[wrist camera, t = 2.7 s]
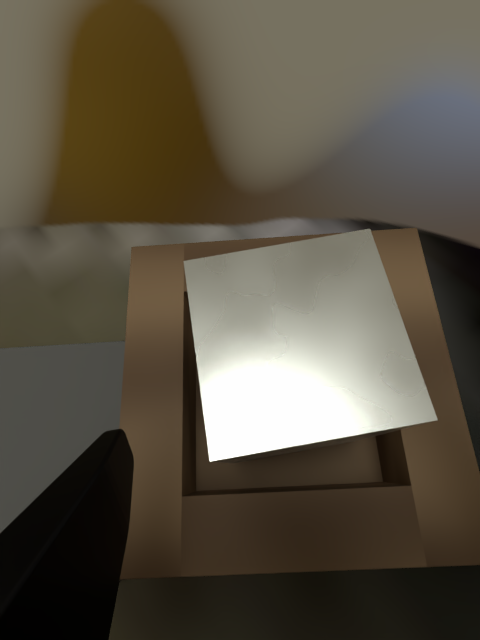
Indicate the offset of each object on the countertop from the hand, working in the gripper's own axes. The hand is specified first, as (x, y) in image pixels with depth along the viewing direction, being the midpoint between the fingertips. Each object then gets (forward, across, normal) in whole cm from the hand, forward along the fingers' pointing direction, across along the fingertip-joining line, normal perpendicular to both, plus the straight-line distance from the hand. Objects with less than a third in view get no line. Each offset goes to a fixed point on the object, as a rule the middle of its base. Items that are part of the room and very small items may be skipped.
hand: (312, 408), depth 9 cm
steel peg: (+6, 0, +4) cm, 8 cm away
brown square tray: (+8, 0, +6) cm, 10 cm away
